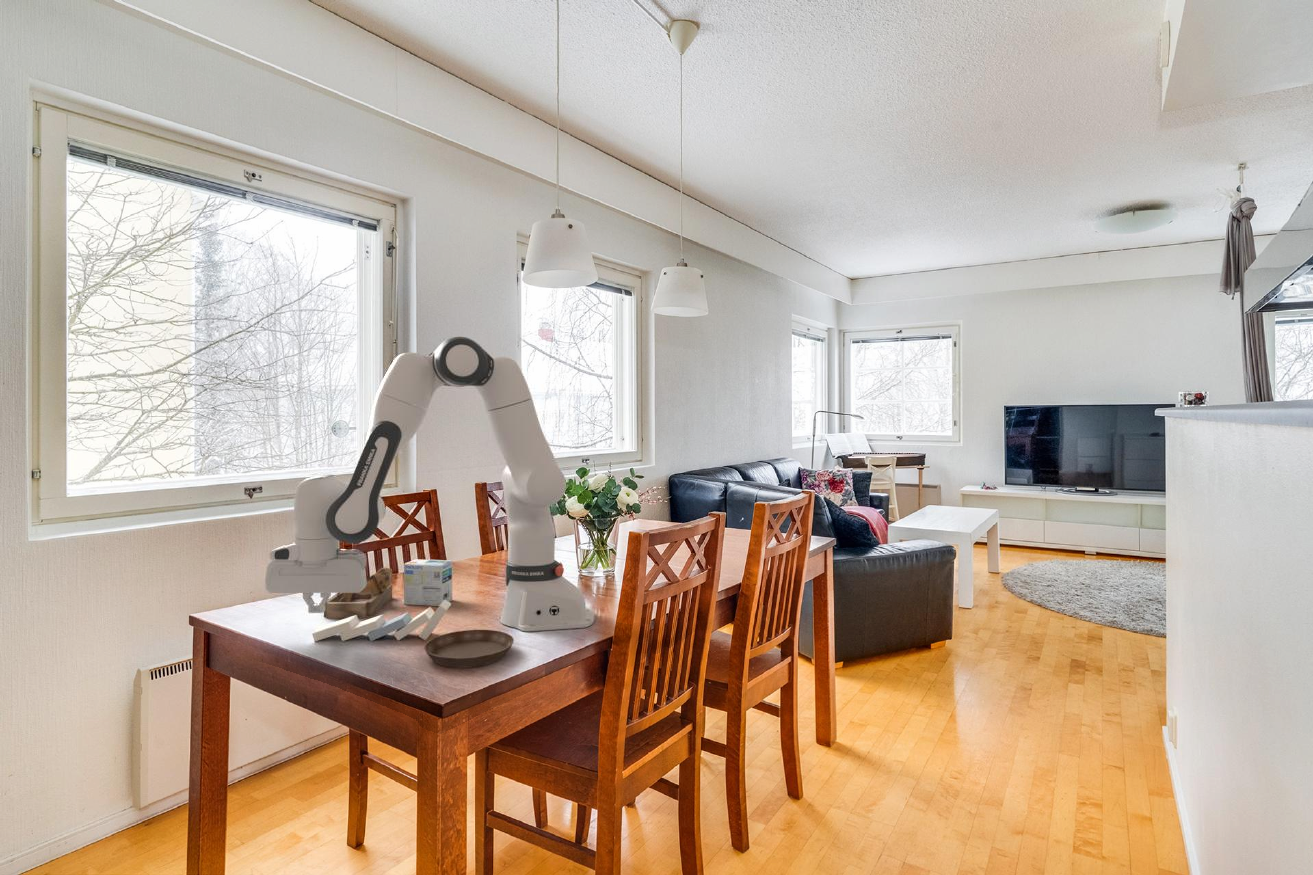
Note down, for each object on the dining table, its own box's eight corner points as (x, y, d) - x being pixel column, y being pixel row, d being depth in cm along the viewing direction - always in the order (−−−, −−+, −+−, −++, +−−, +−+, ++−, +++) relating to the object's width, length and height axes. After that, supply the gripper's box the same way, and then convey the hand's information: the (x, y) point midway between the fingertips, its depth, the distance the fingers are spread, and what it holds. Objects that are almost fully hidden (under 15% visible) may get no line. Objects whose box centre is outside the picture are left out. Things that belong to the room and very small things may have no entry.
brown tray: (393, 596, 182) (393, 583, 182) (369, 617, 163) (369, 603, 163) (350, 596, 181) (351, 583, 181) (322, 617, 162) (322, 603, 162)
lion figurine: (390, 598, 178) (390, 564, 178) (395, 603, 174) (395, 568, 174) (328, 606, 170) (329, 570, 170) (332, 611, 165) (332, 574, 165)
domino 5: (431, 633, 153) (451, 603, 153) (425, 640, 148) (446, 609, 148) (424, 628, 152) (444, 599, 153) (418, 636, 147) (439, 605, 148)
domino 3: (378, 633, 151) (411, 618, 152) (370, 641, 146) (405, 625, 147) (375, 626, 151) (408, 611, 152) (367, 633, 146) (402, 618, 147)
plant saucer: (405, 659, 137) (405, 644, 136) (473, 636, 151) (473, 623, 151) (465, 680, 127) (465, 663, 127) (531, 653, 142) (531, 639, 142)
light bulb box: (453, 599, 180) (453, 559, 180) (442, 606, 174) (443, 565, 173) (414, 598, 181) (414, 558, 181) (402, 604, 175) (403, 563, 174)
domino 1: (324, 634, 151) (359, 622, 151) (314, 641, 146) (351, 629, 146) (321, 626, 150) (356, 614, 151) (311, 633, 146) (348, 621, 146)
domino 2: (350, 633, 151) (385, 621, 152) (342, 641, 146) (378, 628, 147) (348, 626, 151) (383, 614, 151) (339, 633, 146) (375, 621, 146)
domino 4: (404, 633, 152) (435, 613, 153) (398, 640, 147) (429, 619, 148) (400, 626, 152) (430, 606, 152) (393, 633, 147) (424, 613, 147)
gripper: (371, 546, 152) (370, 607, 152) (275, 546, 150) (275, 608, 150) (361, 552, 145) (361, 616, 146) (261, 552, 144) (261, 616, 144)
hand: (316, 612), depth 148 cm, fingers closed
